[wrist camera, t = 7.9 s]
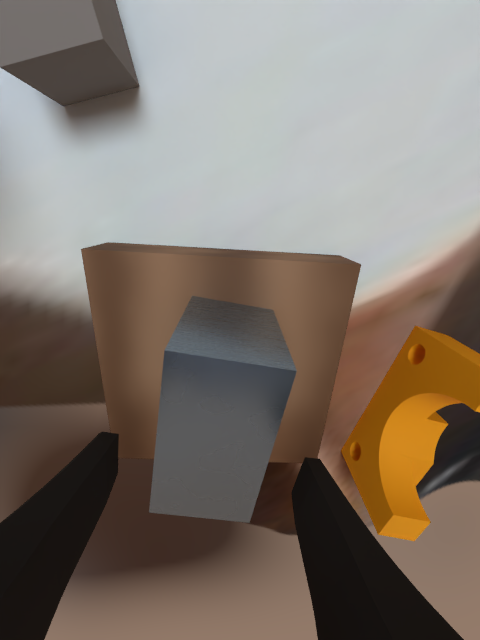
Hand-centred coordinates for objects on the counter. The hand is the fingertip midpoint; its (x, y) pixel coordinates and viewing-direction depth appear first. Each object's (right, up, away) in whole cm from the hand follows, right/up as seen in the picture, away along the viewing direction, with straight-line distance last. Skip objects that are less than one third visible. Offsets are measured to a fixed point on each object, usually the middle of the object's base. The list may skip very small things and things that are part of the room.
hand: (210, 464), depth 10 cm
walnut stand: (0, +3, +8) cm, 9 cm away
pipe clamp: (+13, -1, +11) cm, 17 cm away
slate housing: (0, +3, +5) cm, 6 cm away
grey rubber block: (-6, +19, +2) cm, 20 cm away
